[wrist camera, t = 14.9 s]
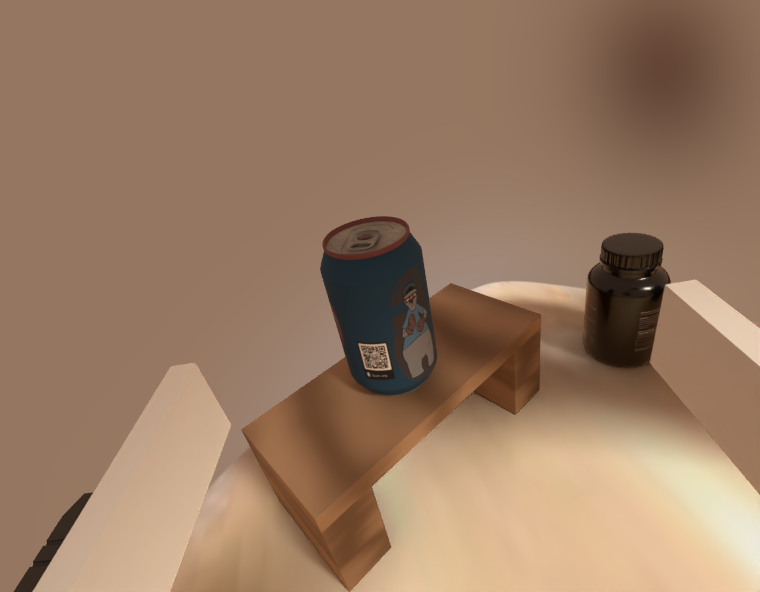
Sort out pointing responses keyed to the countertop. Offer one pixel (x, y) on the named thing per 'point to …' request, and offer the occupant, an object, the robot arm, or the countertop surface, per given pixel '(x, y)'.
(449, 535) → the countertop surface
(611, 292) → the supplement bottle
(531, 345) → the bridge shelf
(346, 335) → the soda can
